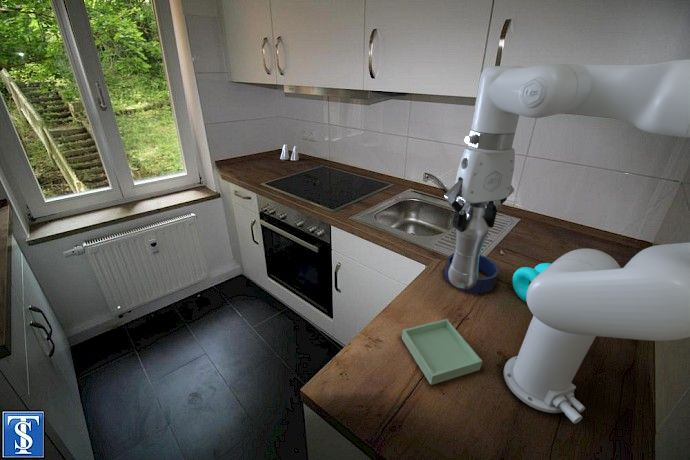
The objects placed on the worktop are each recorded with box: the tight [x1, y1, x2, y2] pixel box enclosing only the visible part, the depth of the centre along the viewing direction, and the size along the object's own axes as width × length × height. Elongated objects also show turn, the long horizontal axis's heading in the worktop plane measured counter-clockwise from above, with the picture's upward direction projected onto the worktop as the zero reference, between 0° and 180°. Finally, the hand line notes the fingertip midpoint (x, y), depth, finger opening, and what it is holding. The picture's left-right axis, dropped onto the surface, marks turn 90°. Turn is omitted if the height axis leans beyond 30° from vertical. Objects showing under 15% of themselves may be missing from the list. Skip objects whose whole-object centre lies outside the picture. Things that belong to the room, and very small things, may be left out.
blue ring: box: [444, 252, 500, 295], centre depth 96 cm, size 15×15×5 cm
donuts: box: [512, 262, 552, 303], centre depth 87 cm, size 10×10×10 cm
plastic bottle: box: [448, 202, 489, 289], centre depth 69 cm, size 6×7×20 cm
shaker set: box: [280, 143, 300, 162], centre depth 211 cm, size 12×4×11 cm, turn 97°
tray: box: [401, 318, 483, 386], centre depth 71 cm, size 13×12×3 cm
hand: (472, 226), depth 66 cm, fingers closed on plastic bottle, 6 cm apart
